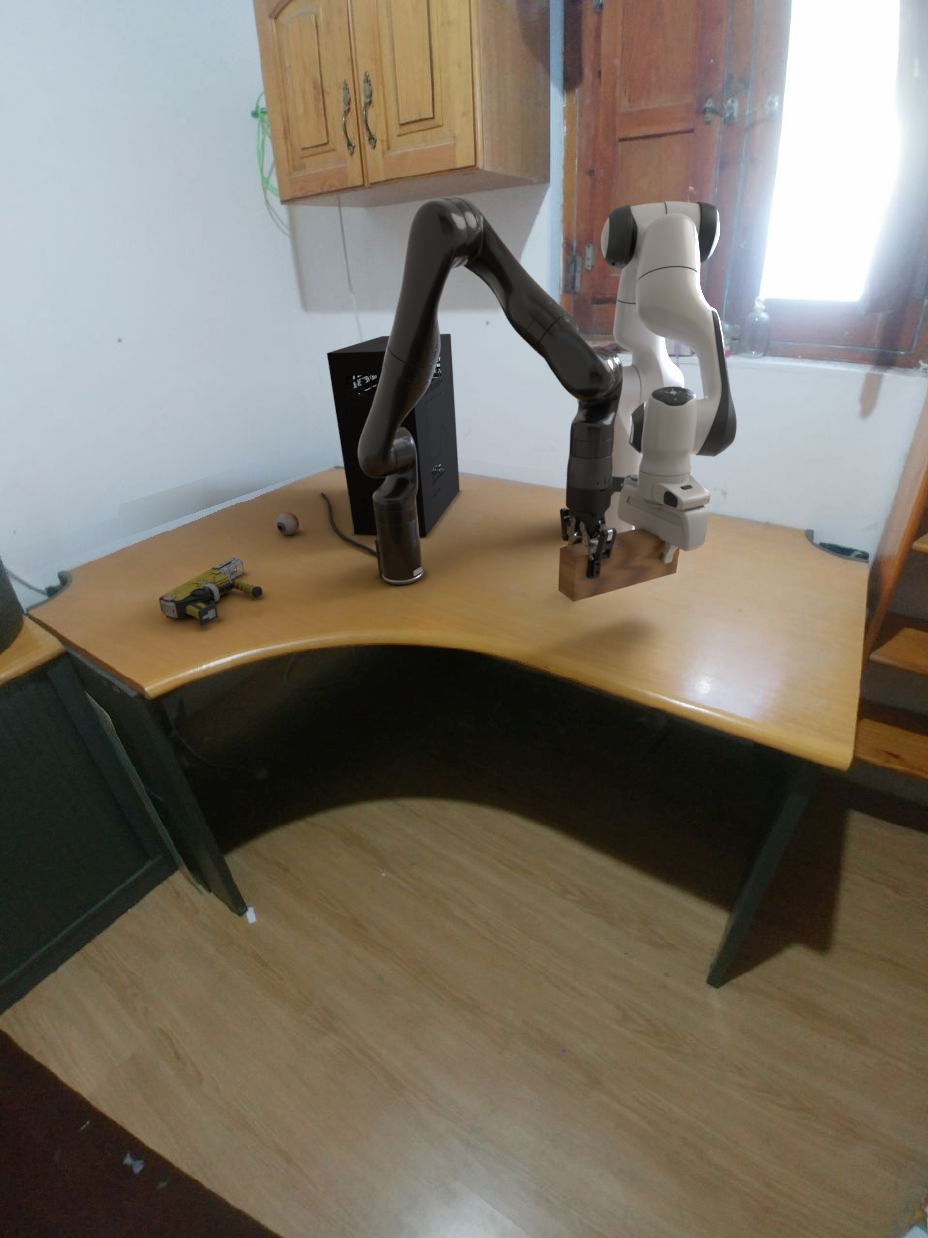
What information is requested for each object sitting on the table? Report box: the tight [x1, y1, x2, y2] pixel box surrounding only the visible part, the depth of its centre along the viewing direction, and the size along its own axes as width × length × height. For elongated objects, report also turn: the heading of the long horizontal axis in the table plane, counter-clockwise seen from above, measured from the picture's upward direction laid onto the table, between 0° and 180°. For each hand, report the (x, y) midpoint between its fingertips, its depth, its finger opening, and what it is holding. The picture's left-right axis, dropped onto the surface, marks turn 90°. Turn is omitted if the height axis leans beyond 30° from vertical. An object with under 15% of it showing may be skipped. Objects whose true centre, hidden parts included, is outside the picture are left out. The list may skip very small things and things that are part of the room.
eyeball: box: [275, 511, 300, 536], centre depth 163 cm, size 6×6×6 cm
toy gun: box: [158, 557, 263, 626], centre depth 132 cm, size 5×24×15 cm
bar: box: [557, 528, 681, 602], centre depth 112 cm, size 23×5×9 cm, turn 115°
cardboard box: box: [326, 333, 460, 538], centre depth 165 cm, size 38×20×45 cm, turn 167°
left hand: (584, 571), depth 109 cm, fingers closed on bar, 5 cm apart
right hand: (654, 555), depth 115 cm, fingers closed on bar, 5 cm apart
